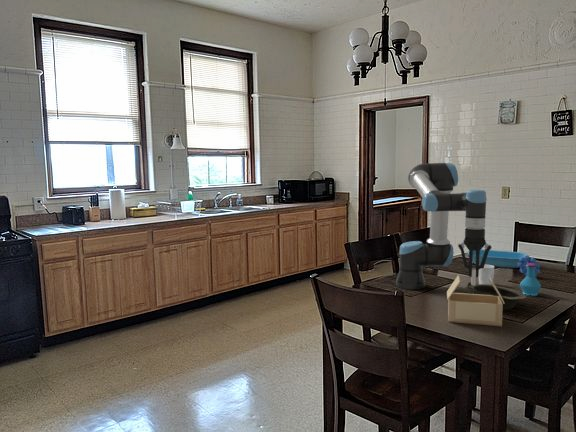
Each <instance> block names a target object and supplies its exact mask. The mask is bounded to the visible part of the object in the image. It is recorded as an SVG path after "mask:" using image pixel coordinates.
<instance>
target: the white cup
mask: <svg viewBox="0 0 576 432" xmlns="http://www.w3.org/2000/svg"><path fill="white" fill-rule="evenodd" d="M494 275H495V266H493V265H487V264H485V265H484V268H481V269H479V276H478V284H490V285H492V283H491V280H490V278H491V279H492V281H493V282H494ZM489 277H490V278H489Z"/></svg>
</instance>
